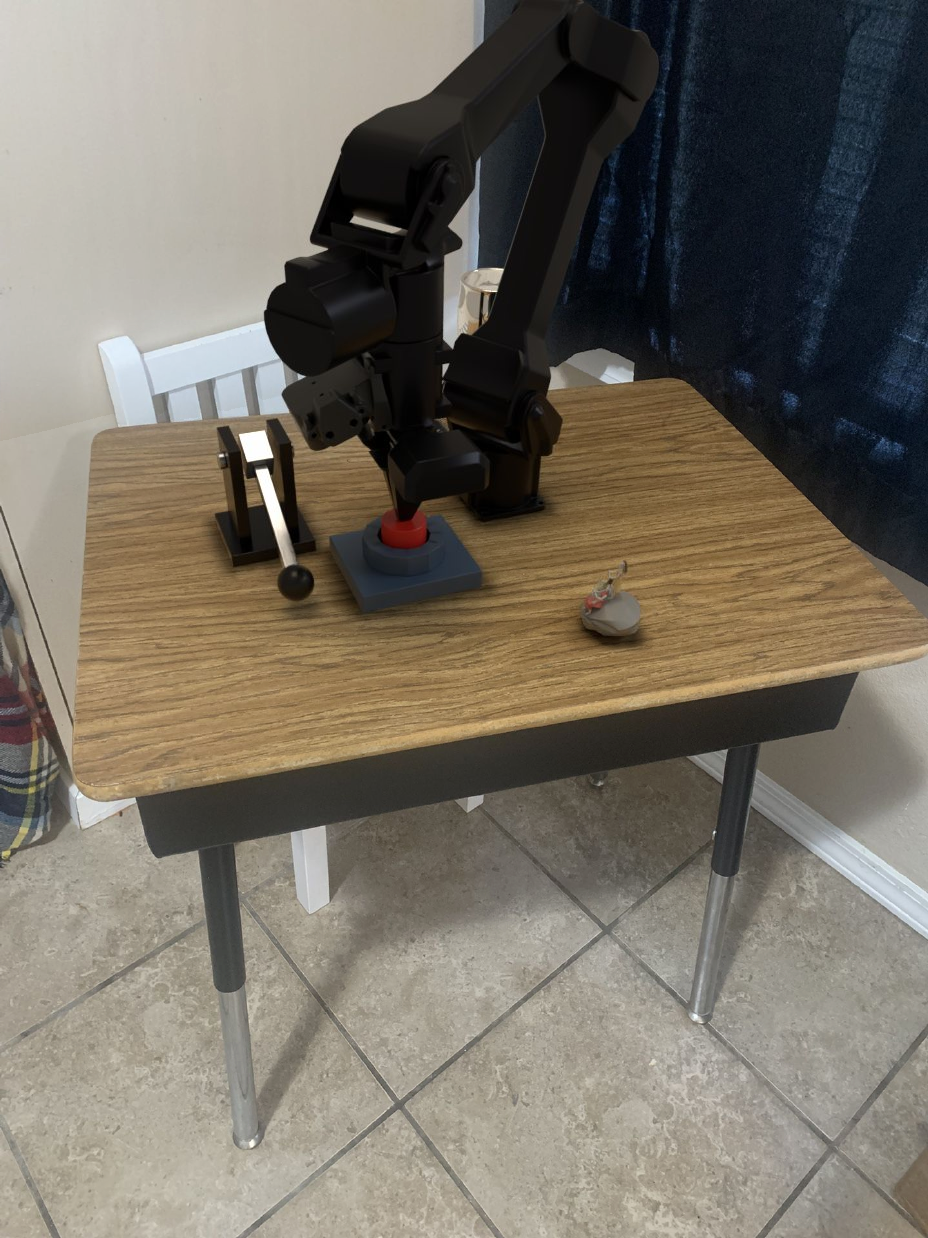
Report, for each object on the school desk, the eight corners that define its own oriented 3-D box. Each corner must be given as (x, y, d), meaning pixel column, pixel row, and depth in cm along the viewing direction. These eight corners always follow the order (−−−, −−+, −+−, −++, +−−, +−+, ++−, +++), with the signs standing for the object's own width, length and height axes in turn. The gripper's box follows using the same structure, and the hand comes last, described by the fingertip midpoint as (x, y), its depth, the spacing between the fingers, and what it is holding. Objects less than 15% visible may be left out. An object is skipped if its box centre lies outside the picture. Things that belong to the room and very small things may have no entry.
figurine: (647, 643, 74) (659, 579, 70) (593, 653, 73) (602, 588, 69) (619, 602, 78) (629, 539, 74) (567, 611, 77) (574, 547, 73)
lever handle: (317, 603, 75) (320, 586, 73) (281, 611, 74) (283, 593, 72) (268, 448, 81) (269, 427, 78) (234, 453, 80) (234, 432, 77)
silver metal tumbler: (515, 443, 98) (526, 295, 89) (448, 435, 99) (451, 287, 90) (526, 413, 103) (537, 270, 94) (462, 405, 104) (466, 263, 95)
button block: (440, 530, 85) (441, 495, 83) (481, 587, 79) (483, 551, 77) (329, 552, 82) (327, 517, 80) (363, 614, 76) (361, 577, 73)
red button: (417, 524, 80) (417, 503, 79) (432, 548, 78) (433, 526, 77) (375, 533, 79) (374, 511, 78) (390, 556, 77) (389, 534, 75)
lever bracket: (316, 551, 82) (308, 447, 76) (233, 568, 80) (218, 462, 74) (294, 510, 87) (285, 409, 81) (215, 524, 85) (200, 421, 79)
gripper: (255, 294, 72) (274, 480, 81) (328, 401, 58) (341, 608, 68) (398, 278, 75) (400, 457, 85) (498, 375, 62) (487, 575, 72)
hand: (404, 518), depth 77 cm, fingers closed, pressing on red button
